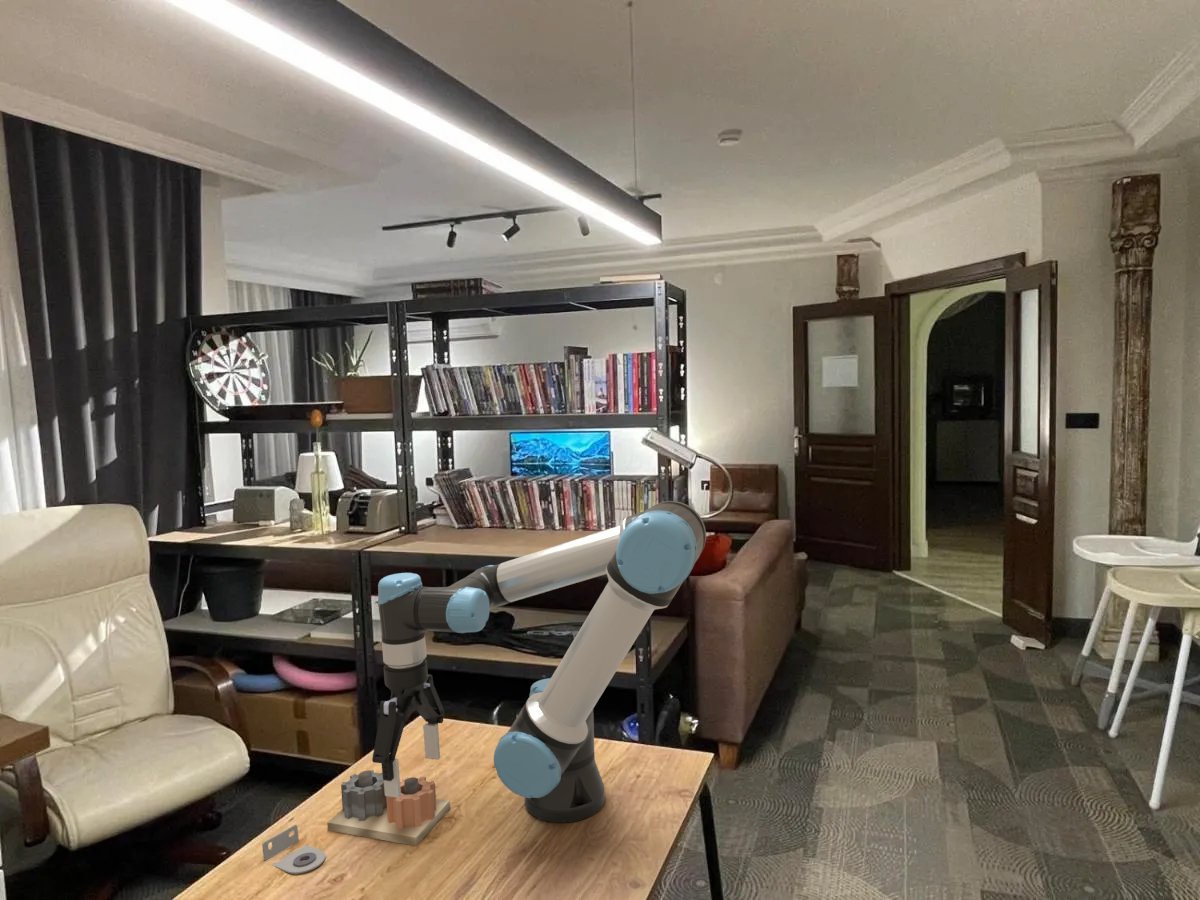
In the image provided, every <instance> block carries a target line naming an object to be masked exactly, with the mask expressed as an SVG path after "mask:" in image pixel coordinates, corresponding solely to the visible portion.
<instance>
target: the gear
mask: <svg viewBox="0 0 1200 900" xmlns="http://www.w3.org/2000/svg"><path fill="white" fill-rule="evenodd" d="M408 778H409V777H403V778H402V780H401V781H400V789H401V796H400V797H399V798H398V797H390V796H386V800H387V819H388V822H389V823H392V822H395V823H396V826H397V828H401V829H402V828H403V827H404V826H411V825H414V826H415V828H416V827H419V826H421V823H422V822H424V821H425V820H427V819H429V820H432V819H433V818H434V817H435V810H436V799H437V796H436V795H437V794H436V782H435V781H434V780H432V781H428V780H427V777H426V776H421V775H420V776H419V777H417V779H418V790H419V792H417V793H415V794H408V795H405V785H404V781H405V780H406V779H408Z"/></svg>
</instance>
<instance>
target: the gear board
mask: <svg viewBox="0 0 1200 900" xmlns="http://www.w3.org/2000/svg"><path fill="white" fill-rule="evenodd" d="M382 773H383V772H382V771H381V772H374V769H370V770H364V771H360V772H359V773H358V774H357V773H353V774H350V775H349V780H348V781H343V782H341V784H340V787H341V789H340V790H341V791H340V792H341V806H342V807H341V808H342V809H341V810H340V811H338V813H336V814H335V815H334V816H333V817H332V818H331V819H329V820H328V821H327V824H326V826H327V831H330V832H334V833H340V834H341V833H342V834H345V835H346V834H347V835H352V836H356V837H358V836H359V837H364V838H369V839H373V840H375V839H376V840H382V841H387V842H392V843H398V844H404V845H409V846H414V847H416V846H418V845H419V844H420V843H421V841H422V840H423V839H425V837H426V836H427V835H428V834H429V832H431V830H432V829H434V827H435V826H436V825H437V824H438V823H439V821H440V820H441V819H442V818H443V817H444V816H445V815H446V814H447V813H448V811H450V809H451V803H450V802H451V801H450V800H448V799H447V800H445V799H439V798H436V810H435V817H434V818H433V819H432V820H429V819H427V820H425V821H424V822H422V823H421V826H419V827H416V828H415V826H414V825H411V826H404V827H403V828H402V829H401V828H397V826H396V823H395V822H392V823H389V822H388V819H387V800H386V796H385V791H384V780H383V774H382ZM404 785H405V795H408V794H415V793H417V792H419V790H418V777H415V776H414V777H413V776H412V777H408V779H406V780H405V781H404Z"/></svg>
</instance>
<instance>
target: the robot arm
mask: <svg viewBox="0 0 1200 900" xmlns="http://www.w3.org/2000/svg"><path fill="white" fill-rule="evenodd" d="M706 542H707V531H706V525H705V523H704V521H703V519H702V518H701V516H700V514H699V513H698V512H697V511H696V510H695V509H694V508H693V507H691V506H690V505H688V504H686V503H684V502H682V501H681V502H680V501H677V500H675V501H674V500H667V501H661V502H659V503H656V504H655V505H652V506H651V507H649V508H648V509H645V510H643V511H641V512H638V513H635V514H632V515H629V516H627V517H626V516H625V517H624V520H623V521H622V523H621V524H619V525H616V526H613V527H611V528H607V529H603V530H601V531H597V532H594V533H592V534H589V535H586V536H582V537H579V538H576V539H573V540H570V541H566V542H563V543H560V544H558V545H554V546H551V547H548V548H545V549H542V550H539V551H535V552H533V553H529V554H526V555H522V556H520V557H517V558H514V559H510V560H507V561H504V562H501V563H499V564H498V563H497V564H495V565H493V564H489V565H485V566H483V567H480V568H477V569H476V570H474V572H472V573H470V574H468V575H467V576H466V577H463V578H462V579H460V580H458V581H456V582H454V583H453V584H451V585H450V586H445V587H444V586H443V587H442V586H441V587H440V586H436V587H434V586H433V587H431V586H423V582H422V579H421V578H422V577H421V576H420V575H419V574H417V573H413V572H401V573H400V572H399V573H393V574H389V575H386V576H383V578H381V579H380V580H379V582H378V585H377V587H378V588H377V590H378V591H377V592H378V593H377V595H378V596H377V599H378V601H377V606H378V614H379V622H380V632H381V633H380V634H381V635H380V636H381V647H382V661H383V664H384V666H383V677H384V678H383V679H384V685H385V686H386V687H387V688H388V689H389V690H390V693H391V694H390V699H389V700H387V701H386V700H381V701H380V703H379V720H378V725H377V730H376V735H375V741H374V746H373V754H372V762H373V763H376V764H381V773H382V772H383V773H382V774H383V780H384V791H385V796H390V797H398V798H399V797H400V796H401V789H400V782H401V779H400V765H399V758H396V756H397V752H398V749H399V745H400V742H401V738H402V735H403V731H404V728H405V724H406V723H408V722H409V719H410V717H411V715H412V714H413V713H414V711H415V712H416V711H417V713H418V714H419V715H420V716H421V718H422V719H423V720H424V724H422V727H423V728H422V729H423V741H424V754H425V755H424V756H425V759H428V760H440V759H441V750H440V733H439V724H443V722H444V717H443V716H444V714H445V709H444V707H443V703H442V702H441V699H440V697H439V694H438V692H437V689H436V687H435V685H434V678H433V675H432V674H429V672H428V660H427V659H426V658H427V655H428V653H427V645H426V644H427V643H426V633H425V632H426V631H427V632H428V631H429V632H448V633H459V634H466V633H477V632H480V631H482V630H483V629H484V627H486V624H487V622H488V621H489V617H490V610H492V609H494V608H498V607H501V606H505V605H508V604H510V603H514V602H516V601H519V600H523V599H526V598H531V597H533V596H537V595H540V594H544V593H546V592H550V591H553V590H556V589H559V588H560V589H561V588H564V587H566V586H570V585H573V584H576V583H580V582H584V581H587V580H590V579H594V578H598V577H600V576H604V575H607V579H608V582H607V583H606V585H605V587H604V589H603V590H602V592H601V593H600V595H599V597H598V598H597V600H596V602H595V604H593V605H594V606H593V607H592V609H591V610H590V612H589V614H588V616H587V617H586V619H585V621H584V622H583V624H582V626H581V627H580V628H579V631H578V632H577V633H576V636H575V637H574V638H573V640H572V642H571V644H570V645H569V647H568V649H567V650H566V652H565V654H564V656H563V657H562V659H561V661H560V662H559V664H558V666H557V667H556V669H555V670H554V672H553V674H552V676H551V677H550V678H544V679H540V680H537V681H535V682H533V683H532V685H531V686H530V692H529V695H528V696H529V697H528V699H527V700H526V702H525V703H524V705H523V707H522V708H521V710H520V712H519V713H518V715H517V717H516V718H515V720H514V721H513V723H512V725H511V726H510V727H509V729H508V731H507V732H506V733H505V734H504V735H502V736H501V738H500V739H499V740H498V742H497V745H496V746H495V749H494V752H493V753H494V754H493V766H494V768H495V770H496V773H497V774H496V775H497V776H498V779H499V780H500V781H501V783H502V784H503V785H504V786H505V787H506V788H507V789H508V790H509V791H511V792H512V793H514V794H515V795H517V796H520V797H523V798H524V806H525V809H526V810H527V811H528V812H529V814H530V815H532V816H533V817H535V818H536V819H538V820H539V819H540V820H542V821H545V822H551V823H563V824H564V823H573V822H578V821H582V820H584V819H587V818H590V817H591V816H593V815H596V814H597V813H598V812H600V810H601V809H602V808H603V806H604V804H605V802H606V795H605V794H606V788H605V783H604V782H603V779H602V774H600V770H599V767H598V765H597V763H596V759H595V731H594V730H595V729H594V728H595V723H594V721H595V720H594V719H595V718H594V708H595V706H596V705H597V703H598V701H599V699H600V698H601V696H602V695H603V693H604V692H605V690H606V688H607V687H608V685H609V684H610V682H611V681H612V679H613V677H614V675H615V674H616V672H617V671H618V669H619V668H620V666H621V664H622V662H623V661H624V659H625V658H626V656H627V655H628V653H629V652H630V650H631V649H632V646H633V645H634V644H635V641H636V640H637V638H638V637H639V635H640V634H641V632H642V630H643V629H644V627H645V626H646V624H647V622H648V620H649V619H650V617H651V616H652V614H653V612H654V611H655V610H660V609H665V608H668V606H669V605H670V603H672V600H673V598H675V595H676V594H677V592H678V591H679V589H680V587H681V586H682V584H683V583H684V582H685V581H686V579H687V578H688V577H689V575H690V574H691V572H692V570H693V568H694V566H695V564H696V562H697V561H698V559H699V558H700V556H701V554H702V553H703V551H704V548H705V545H706Z"/></svg>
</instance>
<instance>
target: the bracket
mask: <svg viewBox="0 0 1200 900" xmlns="http://www.w3.org/2000/svg"><path fill="white" fill-rule="evenodd" d="M292 832H293V834H292V835H290V833H292ZM289 835H290V836H289ZM299 841H300V839H299V831H298V825H297V824H294V825H292V826H290V827H288V828H287V829H285V830H283V831H281V832H279V833H277V834H276V835H274V836H272V837H270V838H268V839H267V840H265V841H263V842H262V844H261V846H262V855H263V856H262V857H263V861H267V860H270V859H271V858H273V857H275V856H276V855H278V854H280V853H281V852H283V851H285V850H287V849H289V848H290V847H292V846H294V845H295V844H296V843H298V842H299ZM270 843H271V848H270V849H269V844H270ZM326 858H327V855H326V853H325V851H324V850H321V849H319V848H315V847H313V846H310V845H308V844H305V845H303V846H302V847H301V848H298V849H296V850H295V851H293V852H291V853H289V854H288V855H286V856H284V857H282V859H281V860H279V861H278V862H274V863H272V864H271V866H272V867H275V868H277V869H279V870H281V871H282V872H285V873H288V874H292V875H297V874H303V873H307V872H309V871H312V870H314V869H316V868H318V867H320V866H321V865H322V864H323V863H324V862H325V860H326Z"/></svg>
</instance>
